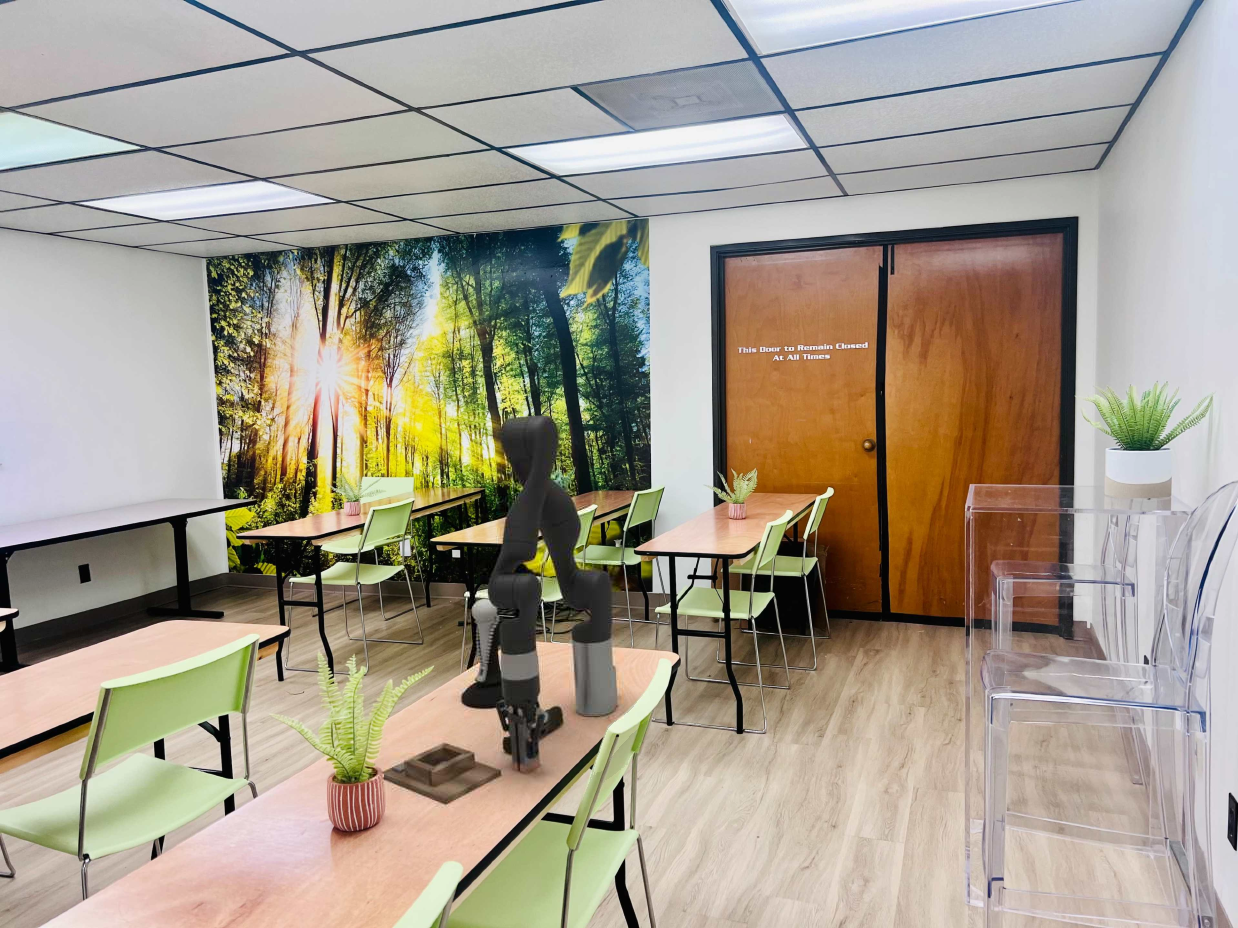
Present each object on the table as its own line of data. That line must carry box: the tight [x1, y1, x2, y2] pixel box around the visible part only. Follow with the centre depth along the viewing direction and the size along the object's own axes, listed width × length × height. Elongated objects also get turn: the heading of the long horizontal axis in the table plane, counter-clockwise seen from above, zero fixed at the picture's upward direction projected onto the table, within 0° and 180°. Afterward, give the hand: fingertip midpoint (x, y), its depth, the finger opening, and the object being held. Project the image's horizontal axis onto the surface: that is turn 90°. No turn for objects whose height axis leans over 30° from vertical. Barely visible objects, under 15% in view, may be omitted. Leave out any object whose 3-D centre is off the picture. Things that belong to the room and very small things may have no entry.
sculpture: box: [460, 598, 506, 710], centre depth 214 cm, size 15×24×25 cm, turn 147°
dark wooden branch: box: [502, 705, 564, 755], centre depth 185 cm, size 19×4×5 cm, turn 145°
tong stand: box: [381, 742, 502, 805], centre depth 169 cm, size 14×20×4 cm
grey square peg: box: [509, 713, 541, 775], centre depth 170 cm, size 4×4×13 cm
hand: (525, 754), depth 171 cm, fingers closed on grey square peg, 3 cm apart
